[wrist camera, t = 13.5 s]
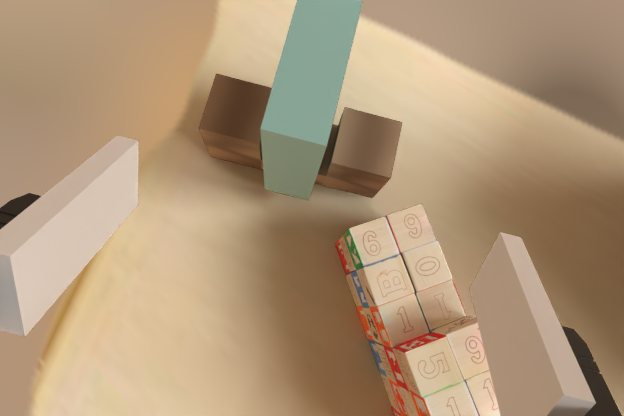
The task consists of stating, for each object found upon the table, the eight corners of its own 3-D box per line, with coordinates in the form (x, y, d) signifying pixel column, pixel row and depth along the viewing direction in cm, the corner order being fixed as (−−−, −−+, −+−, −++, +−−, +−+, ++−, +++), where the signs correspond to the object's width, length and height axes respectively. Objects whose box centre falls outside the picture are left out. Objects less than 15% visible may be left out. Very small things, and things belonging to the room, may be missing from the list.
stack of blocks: (332, 243, 43) (354, 218, 31) (393, 222, 44) (438, 191, 32) (414, 478, 39) (476, 554, 27) (479, 451, 40) (567, 512, 28)
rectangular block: (334, 99, 43) (362, 1, 29) (308, 200, 40) (326, 146, 27) (292, 88, 42) (301, -15, 29) (264, 189, 40) (260, 128, 27)
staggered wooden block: (382, 150, 45) (402, 122, 38) (372, 197, 44) (390, 177, 37) (224, 109, 45) (216, 73, 38) (210, 156, 44) (198, 128, 37)
